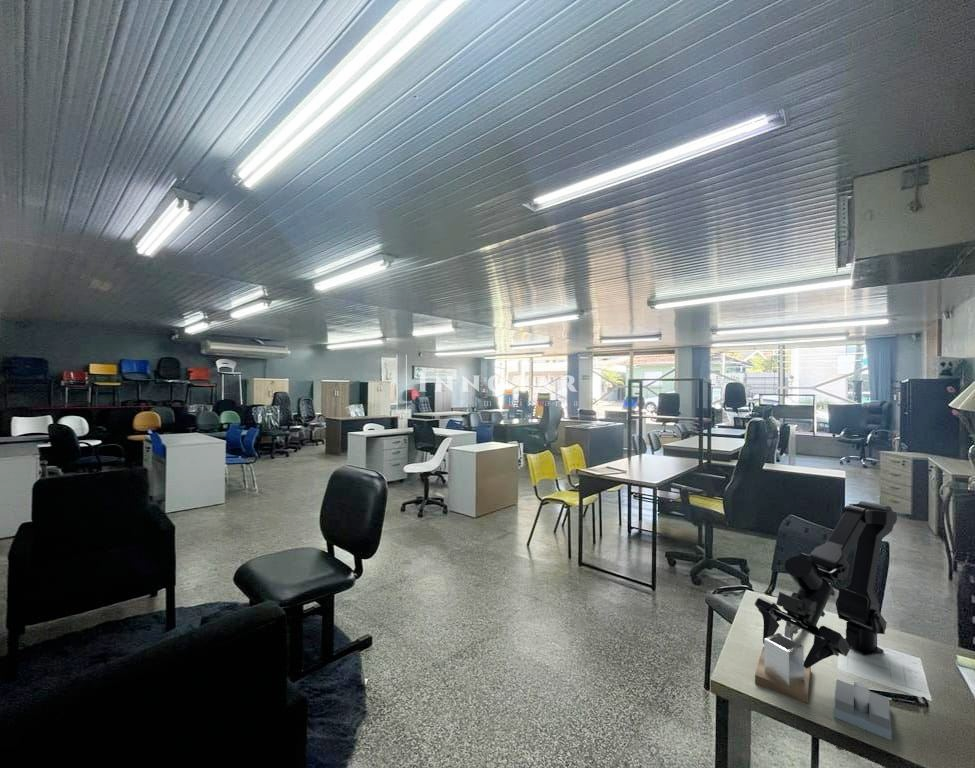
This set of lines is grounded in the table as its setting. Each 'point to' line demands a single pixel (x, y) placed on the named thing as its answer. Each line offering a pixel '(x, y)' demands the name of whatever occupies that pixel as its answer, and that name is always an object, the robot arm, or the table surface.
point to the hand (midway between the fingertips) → (783, 655)
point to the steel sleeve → (784, 659)
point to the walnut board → (794, 691)
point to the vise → (862, 708)
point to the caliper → (790, 630)
